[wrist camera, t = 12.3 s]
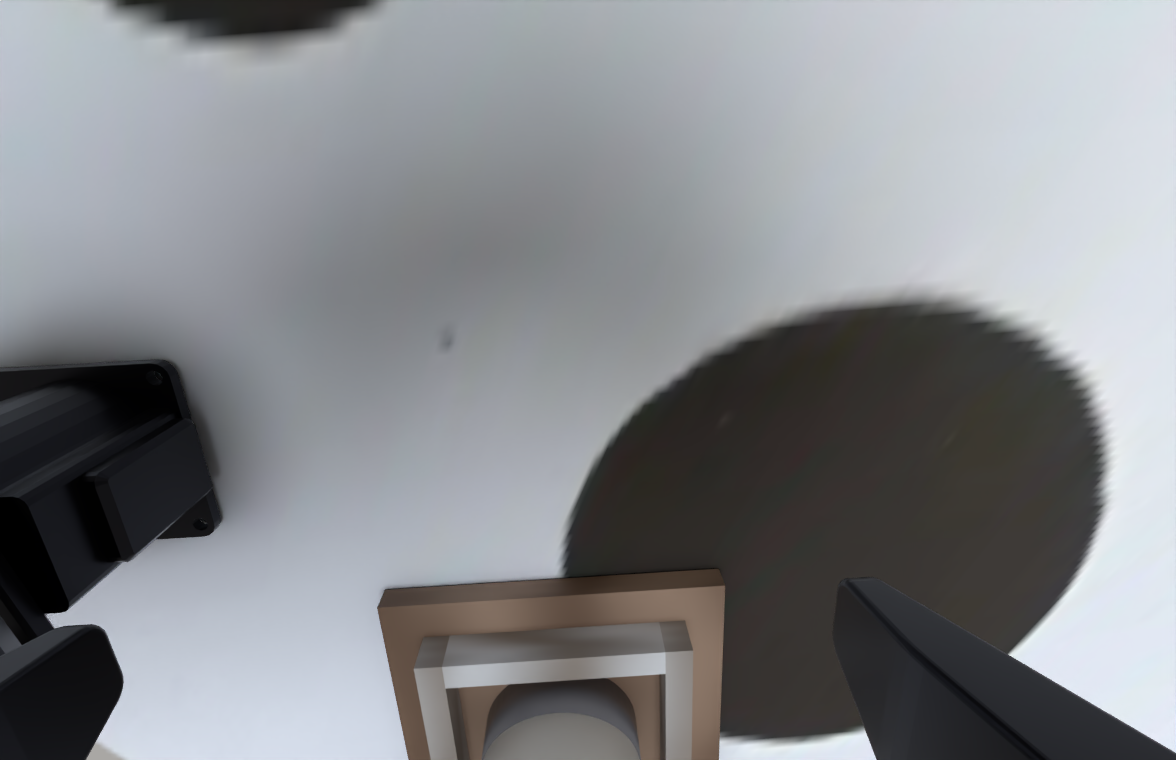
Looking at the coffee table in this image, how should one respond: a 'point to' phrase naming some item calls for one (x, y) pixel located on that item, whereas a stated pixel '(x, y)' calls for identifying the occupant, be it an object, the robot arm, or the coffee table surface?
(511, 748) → the white cylinder
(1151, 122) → the coffee table surface
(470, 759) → the walnut board
